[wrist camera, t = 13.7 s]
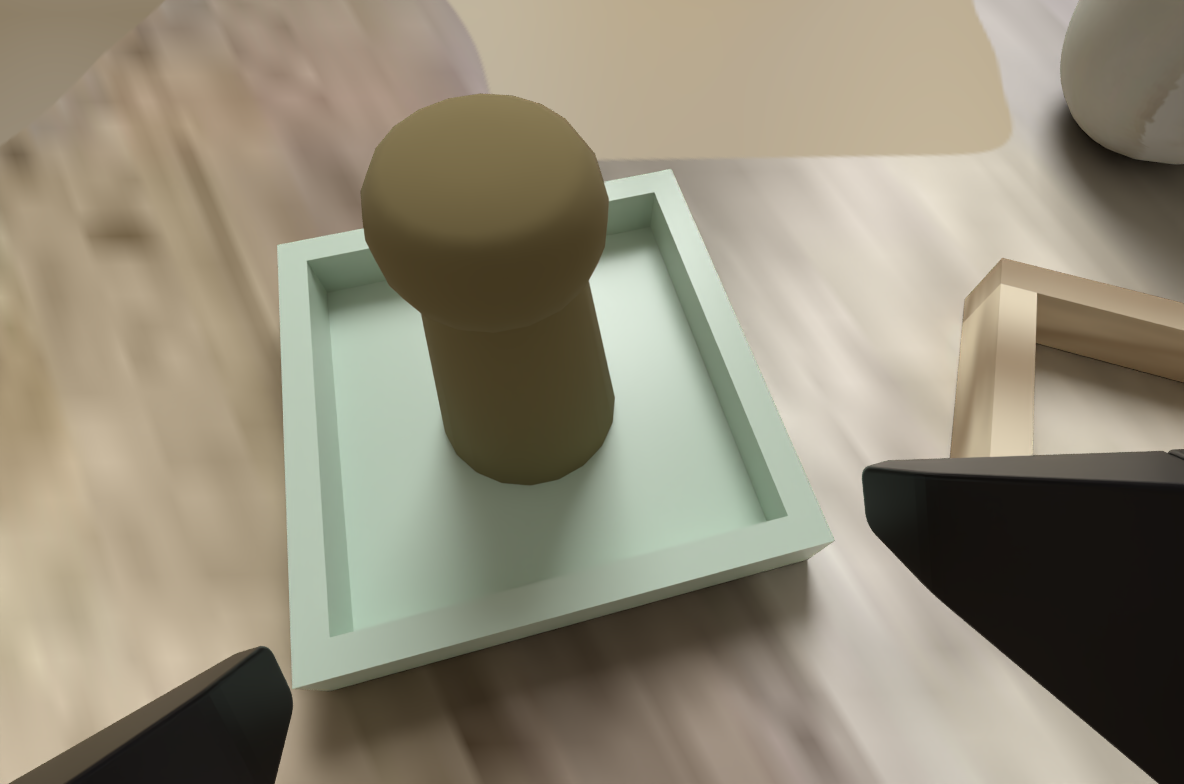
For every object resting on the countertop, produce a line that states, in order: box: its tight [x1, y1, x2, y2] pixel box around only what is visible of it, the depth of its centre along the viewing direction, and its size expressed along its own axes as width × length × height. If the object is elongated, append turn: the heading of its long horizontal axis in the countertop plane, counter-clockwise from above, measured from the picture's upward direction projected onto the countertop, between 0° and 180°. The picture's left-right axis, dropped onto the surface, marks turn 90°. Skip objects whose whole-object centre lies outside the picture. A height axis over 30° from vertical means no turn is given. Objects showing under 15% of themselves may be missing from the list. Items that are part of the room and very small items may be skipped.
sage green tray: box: [277, 169, 835, 691], centre depth 21 cm, size 15×15×2 cm
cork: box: [361, 94, 615, 486], centre depth 17 cm, size 6×6×11 cm
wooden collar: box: [950, 258, 1184, 458], centre depth 20 cm, size 10×10×2 cm
